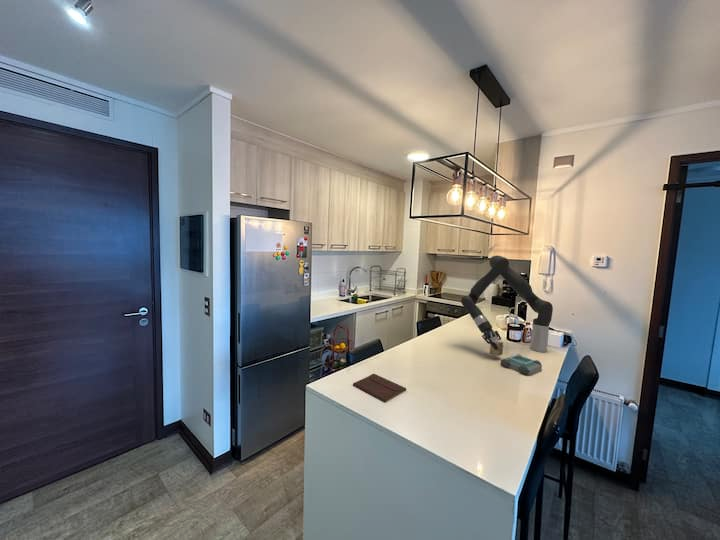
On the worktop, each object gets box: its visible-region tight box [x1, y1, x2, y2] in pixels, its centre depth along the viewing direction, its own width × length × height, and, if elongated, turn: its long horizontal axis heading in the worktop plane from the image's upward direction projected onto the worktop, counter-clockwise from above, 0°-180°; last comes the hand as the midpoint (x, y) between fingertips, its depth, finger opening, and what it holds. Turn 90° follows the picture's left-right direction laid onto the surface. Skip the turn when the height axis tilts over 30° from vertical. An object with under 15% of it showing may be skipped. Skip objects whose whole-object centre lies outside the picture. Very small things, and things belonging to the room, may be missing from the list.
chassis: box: [500, 353, 543, 377], centre depth 163 cm, size 16×16×5 cm
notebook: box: [352, 373, 407, 404], centre depth 134 cm, size 15×20×2 cm
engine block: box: [489, 339, 504, 357], centre depth 175 cm, size 5×5×8 cm
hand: (499, 348), depth 173 cm, fingers closed on engine block, 5 cm apart
